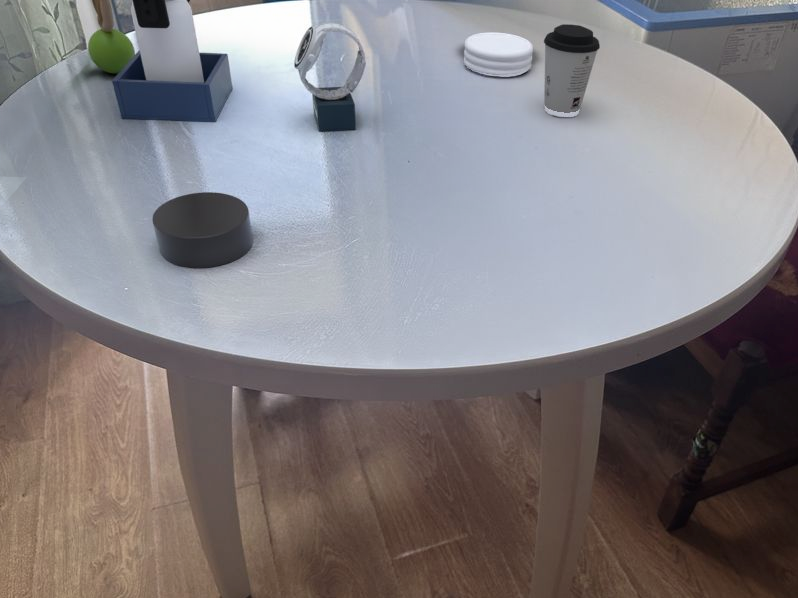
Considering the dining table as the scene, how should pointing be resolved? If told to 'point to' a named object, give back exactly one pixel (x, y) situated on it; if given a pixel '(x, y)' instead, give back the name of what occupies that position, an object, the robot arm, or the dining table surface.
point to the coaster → (497, 53)
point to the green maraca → (109, 41)
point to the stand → (203, 229)
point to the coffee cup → (568, 66)
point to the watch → (329, 102)
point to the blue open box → (174, 92)
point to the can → (170, 46)
